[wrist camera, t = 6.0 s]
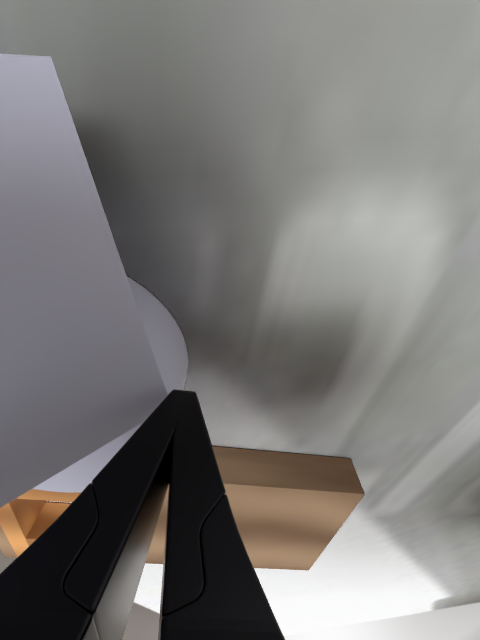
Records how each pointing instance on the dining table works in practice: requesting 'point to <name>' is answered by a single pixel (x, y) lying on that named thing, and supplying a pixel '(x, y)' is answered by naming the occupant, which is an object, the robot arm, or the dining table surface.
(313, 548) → the brown flat rectangular block
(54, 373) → the wedge on round base
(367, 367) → the dining table surface
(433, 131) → the dining table surface
